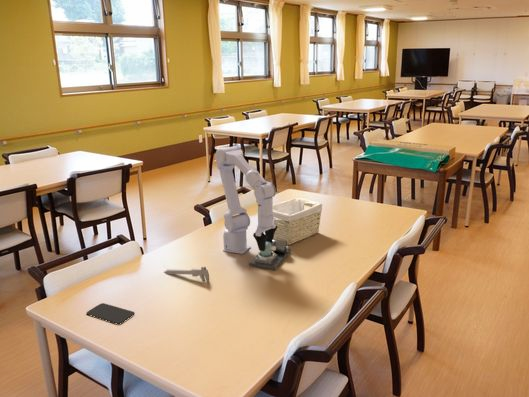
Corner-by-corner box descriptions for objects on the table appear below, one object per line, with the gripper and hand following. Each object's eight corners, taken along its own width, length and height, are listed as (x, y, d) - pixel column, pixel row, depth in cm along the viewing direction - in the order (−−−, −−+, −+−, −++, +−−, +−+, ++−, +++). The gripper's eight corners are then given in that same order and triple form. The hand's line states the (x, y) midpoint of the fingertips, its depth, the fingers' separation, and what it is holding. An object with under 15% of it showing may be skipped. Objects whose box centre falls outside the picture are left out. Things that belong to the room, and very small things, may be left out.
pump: (258, 258, 176) (258, 245, 175) (262, 253, 180) (262, 240, 179) (273, 260, 174) (273, 247, 173) (277, 255, 178) (277, 242, 177)
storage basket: (296, 224, 220) (297, 196, 216) (323, 232, 209) (324, 202, 205) (262, 238, 204) (262, 207, 200) (289, 248, 193) (289, 215, 189)
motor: (248, 265, 177) (248, 250, 175) (266, 248, 192) (266, 234, 191) (275, 270, 172) (275, 255, 170) (291, 252, 188) (291, 238, 186)
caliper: (209, 282, 165) (208, 267, 163) (208, 283, 164) (207, 268, 162) (165, 272, 174) (164, 257, 172) (163, 273, 173) (162, 258, 171)
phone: (102, 302, 151) (136, 312, 145) (102, 304, 151) (136, 314, 145) (84, 313, 145) (119, 323, 138) (85, 315, 145) (119, 326, 138)
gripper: (267, 221, 165) (268, 255, 169) (281, 209, 177) (281, 241, 181) (250, 219, 167) (251, 252, 171) (265, 207, 180) (265, 239, 184)
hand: (265, 246), depth 176 cm, fingers open, 7 cm apart
